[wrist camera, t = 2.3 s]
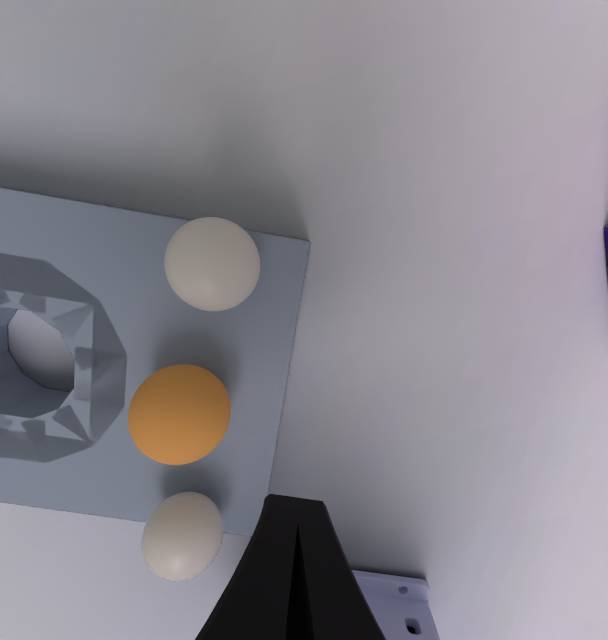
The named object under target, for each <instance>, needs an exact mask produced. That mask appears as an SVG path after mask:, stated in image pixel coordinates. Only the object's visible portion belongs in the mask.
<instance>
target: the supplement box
mask: <svg viewBox="0 0 608 640" xmlns="http://www.w3.org/2000/svg"><path fill="white" fill-rule="evenodd" d="M605 242H606V250H607V261H608V225H607V226H605Z"/></svg>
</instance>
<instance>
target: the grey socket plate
mask: <svg viewBox="0 0 608 640" xmlns="http://www.w3.org/2000/svg"><path fill="white" fill-rule="evenodd" d="M190 221H192V220H187V219H181V218H176V217H170V216H164V215H158V214H153V213H147V212H141V211H135V210H130V209H124V208H118V207H112V206H107V205H101V204H95V203H89V202H84V201H78V200H72V199H67V198H61V197H55V196H49V195H44V194H38V193H32V192H26V191H21V190H15V189H9V188H3V187H0V502H1V503H9V504H16V505H23V506H31V507H38V508H45V509H53V510H60V511H67V512H75V513H82V514H89V515H97V516H104V517H111V518H119V519H126V520H133V521H140V522H147V521H148V519H149V517H150V515H151V514H152V512H153V511H154V510H155V508H156V507H157V506H158V505H159V504H160V503H161V502H163V501H164V500H165V499H167V498H169V497H170V496H172V495H175V494H177V493H181V492H197V493H201V494H203V495H205V496H207V497H208V498H210V499H211V500H212V501H213V502H214V503H215V505H216V506H217V507H218V509H219V511H220V514H221V516H222V521H223V533H228V534H236V535H243V536H250V537H252V535H253V533H254V530H255V528H256V525H257V523H258V520H259V517H260V515H261V511H262V508H263V504H264V499H265V497H266V496H267V494H268V488H269V482H270V477H271V471H272V465H273V459H274V453H275V447H276V441H277V436H278V430H279V424H280V418H281V412H282V406H283V400H284V395H285V389H286V383H287V377H288V371H289V365H290V359H291V353H292V348H293V342H294V336H295V330H296V324H297V318H298V312H299V307H300V301H301V295H302V289H303V283H304V277H305V271H306V266H307V260H308V254H309V248H310V241H308V240H302V239H296V238H290V237H285V236H279V235H273V234H267V233H262V232H256V231H250V230H245V231H246V232H247V233H248V234H249V236H250V237H251V238H252V240H253V241H254V243H255V245H256V247H257V249H258V253H259V257H260V275H259V279H258V282H257V284H256V286H255V288H254V290H253V291H252V293H251V294H250V295H249V296H248V297H247V299H245V300H244V301H243V302H242V303H240V304H238V305H237V306H235V307H233V308H230V309H227V310H222V311H205V310H201V309H198V308H195V307H193V306H191V305H189V304H187V303H186V302H185V301H183V300H182V299H181V298H180V297H179V296H178V295H177V294H176V293H175V292H174V291H173V289H172V288H171V286H170V284H169V282H168V280H167V277H166V273H165V268H164V257H165V251H166V248H167V245H168V243H169V241H170V239H171V237H172V236H173V235H174V233H175V232H176V231H177V230H178V229H179V228H180V227H182V226H183V225H185V224H186V223H188V222H190ZM17 309H20V310H26V311H31V312H33V313H34V314H36V315H37V316H39V317H40V318H41V319H43V320H44V321H46V322H47V323H49V324H50V325H51V326H53V327H54V328H56V329H57V330H59V331H60V333H61V335H62V337H63V339H64V341H65V342H66V344H67V346H68V348H69V350H70V351H71V353H72V355H73V357H74V359H75V370H74V388H73V390H72V391H71V392H67V391H61V390H54V389H47V388H44V387H42V386H41V385H39V384H38V383H36V382H35V381H33V380H32V379H30V378H29V377H27V376H26V375H24V374H23V373H22V372H21V371H20V369H19V367H18V366H17V364H16V362H15V360H14V359H13V357H12V355H11V354H10V352H9V350H8V327H7V324H8V323H9V321H10V320H11V318H12V317H13V315H14V314H15V312H16V311H17ZM178 364H189V365H195V366H199V367H202V368H204V369H206V370H208V371H209V372H211V373H213V374H214V375H215V376H216V377H217V378H218V379H219V380H220V381H221V382H222V384H223V385H224V387H225V388H226V390H227V393H228V396H229V399H230V404H231V417H230V422H229V426H228V429H227V431H226V433H225V435H224V437H223V439H222V440H221V441H220V443H219V444H218V445H217V446H216V447H215V448H214V449H213V450H212V451H211V452H210V453H209V454H207V455H206V456H204V457H203V458H201V459H199V460H196V461H194V462H191V463H187V464H181V465H168V464H163V463H160V462H157V461H155V460H152V459H151V458H149V457H148V456H146V455H145V454H144V453H143V452H141V451H140V450H139V448H138V447H137V446H136V444H135V443H134V441H133V439H132V437H131V434H130V431H129V426H128V411H129V406H130V403H131V400H132V398H133V396H134V394H135V392H136V390H137V389H138V387H139V386H140V385H141V384H142V383H143V382H144V380H145V379H147V378H148V377H149V376H150V375H152V374H153V373H155V372H156V371H158V370H160V369H163V368H165V367H168V366H172V365H178Z"/></svg>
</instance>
